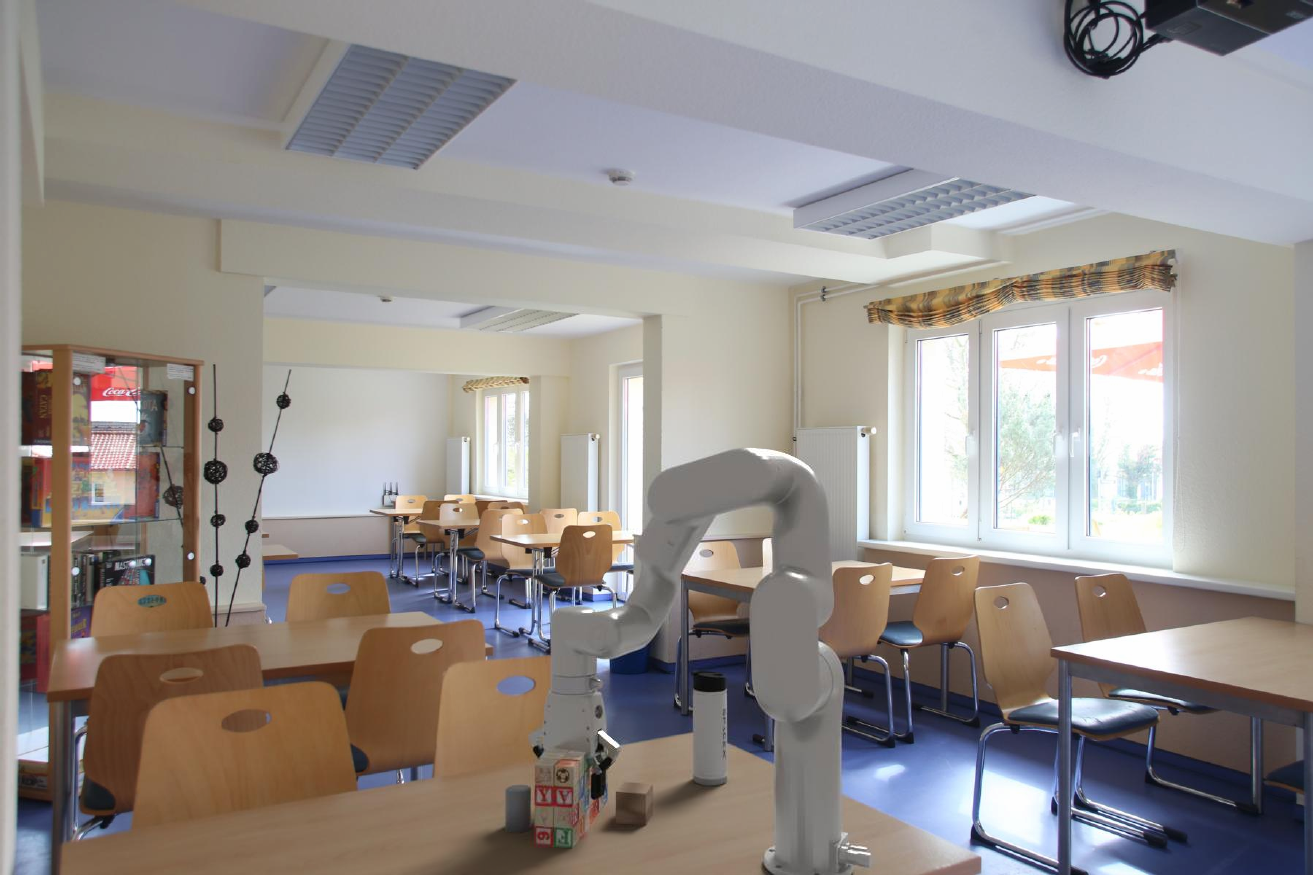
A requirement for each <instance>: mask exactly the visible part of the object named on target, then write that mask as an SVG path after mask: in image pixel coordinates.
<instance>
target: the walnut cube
mask: <svg viewBox="0 0 1313 875" xmlns="http://www.w3.org/2000/svg"><path fill="white" fill-rule="evenodd" d="M653 815H654V784H653V783H646V782H645V783H644V782H643V783H642V782H630V781H623V782H622V783H621V784H620V786H619V787H618V788H617V790H615V824H623V825H624V824H625V825H634V826H635V825H637V826H638V825H639V826H647V825H648V823H649V822H650V820H651V818H652V816H653Z"/></svg>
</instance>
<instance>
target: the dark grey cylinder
mask: <svg viewBox="0 0 1313 875" xmlns="http://www.w3.org/2000/svg"><path fill="white" fill-rule="evenodd" d="M504 800H505V807H504V809H505V815H504V816H505V818H504V830H506V831H507V832H510V833H513V834H514V833H524V832H527V831H529V830H530V829H531V827H532V818H531V817H532V787H531V786H529V785H525V784H514V785H510V786H508V787H505V799H504Z"/></svg>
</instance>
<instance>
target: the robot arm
mask: <svg viewBox="0 0 1313 875" xmlns="http://www.w3.org/2000/svg"><path fill="white" fill-rule="evenodd" d="M646 498H647V505H648V509H649V512H650V513H651V515H652V516H651V518H650V520H649V521H648V523H647V524H646V526H645V528H644V529H643V531H642V533H641V535H640V536H639V538H638V539H637V541H636V543H635V545H634V553H635V556H636V558H637V559H638V560H639V561H640V573H639V577H638V579H637V582H636V583H635V584H634V585H635V586H634V588H632V591H631V592H630V594H629V596H628V597H627V599H626V601H625V602H624V603H623V605H620V606H616V607H613V608H610V609H606V610H605V609H604V610H601V611H595V610H594V609H593V608H591V607H588V606H579V605H576V606H575V605H573V606H572V605H571V606H561V607H557V608H556V609H554V610H553V611H552V614H551V617H550V690H549V691H547V694H546V698H545V702H544V708H543V710H544V711H543V719H542V727H540V728H538V729H536V730H535V731H532V732H531V733H529V734H528V736H527V738H528V741H529V743H530V745H531V747H532V752H533V753H534V754H535V757H536V758H537V759H538V761H539V760H540V759H542V758H543V757H544V756H545V755H546V754H547V753H548V752H549V751H550V750H551V749H552V748H553V747H555V748H561V749H567V750H573V751H579V752H586V758H587V760H588V762H589V764H590V765H591V767H592V769H593V771H594V773H593V774H591V798H592V799H593V800H596V799H598V798H599V797H601V796H603V795H604V793H605V790H606V770H609V768H610V767H611V766H612V765H613V764H614V763H615V762H616V759H617V758H618V756H619V754H620V752H621V750H622V747H621V745H620V744H619V743H617V742H616V741H615V740H613V739H612V738H611V737H610V736H609V735H608V733H607V732H608V727H607V715H606V709H605V702H604V700H603V699H604V698H603V694H602V692H600V691H598V689H602V688H603V686H604V681H603V680H602V679H599V678H598V659H599V660H613V659H616V658H619V657H621V656H622V657H623V656H624V655H627V654H630V653H633V652H635V651H639V650H641V649H643V648H645V647H646V646H647V645H648V644H649V643H650V642H651V641H652V640H653V639H654V637H655V636H656V634H657V633H658V631H659V630H660V628H661V626H662V625H663V623H664V621H665V620H666V618H667V617H668V615H669V613H670V611H671V609H672V608H673V605H674V603H675V601H676V598H677V595H678V591H679V589H680V588H679V587H680V584H681V578H682V574H683V572H684V570H685V568H686V566H687V565H688V563H689V561H690V560H691V558H692V556H693V554H694V553H695V551H696V550H697V548H698V547H699V545H700V543H701V542H702V540H703V538H704V536H705V535H706V533H707V532H708V530H709V528H710V527H711V525H712V523H713V521H714V520H715V518H716V517H717V516H719V515H722V514H726V513H729V512H730V513H731V512H734V511H738V510H742V509H748V508H755V507H756V508H758V507H759V508H760V507H768V508H769V509H771V512H772V516H773V517H772V518H773V519H772V520H773V521H772V525H771V526H772V527H771V535H770V539H771V540H770V543H771V552H772V553H771V556H772V559H771V560H772V563H771V564H772V566H771V567H772V568H771V572H769V573H767V575H764V576H763V577H762V578H761V580H759V582H758V583H757V584H756V586H755V588H754V590H753V593H752V595H751V600H750V604H749V638H750V639H749V640H750V644H749V645H750V661H751V662H750V663H751V665H750V666H751V682H752V689H753V692H754V696H755V699H756V701H757V703H758V705H759V707H760V708H761V710H762V711H763V712H764V713H765V714H766V715H768V717H770V718H771V719H773V720H774V729H773V767H774V768H773V774H774V776H773V779H774V780H773V782H774V783H773V785H774V786H773V788H774V790H773V793H774V845H773V846H771V847H769V848H767V849H766V850H765V852H764V855H763V864H764V867H765V868H766V869H767V870H768V871H769V872H770V873H771V874H772V875H852V874H853V873H854V869H855V866H857V867H860V868H864V869H872V866H873V861H874V859H873V854H872V853H870V852H869V848H868V847H867V846H861V845H857V846H856V845H853V844H852V843H851V842H849V833H848V832H844V831H843V803H842V802H843V799H842V798H843V797H842V796H843V794H842V793H843V792H842V791H843V790H842V787H843V785H842V724H843V723H842V722H843V720H842V717H843V707H844V694H845V675H844V669H843V666H842V665H843V664H842V662H841V661H840V658H839V657H838V654H836V652H835V650H833V648H832V647H830V646H829V645H828V644H826V643H824V642H822V641H820V640H819V628H821V627H823V626H824V625H825V624H826V623H827V622H828V621H829V620H830V618H831V616H832V615H833V612H834V609H835V608H834V607H835V593H834V582H833V581H834V580H833V564H832V549H831V548H832V547H831V534H830V514H829V503H828V498H827V494H826V491H825V488H824V486H823V483H822V481H821V480H820V479H819V477H818V475H817V474H816V472H815V471H814V470H813V469H812V468H811V467H810V466H809V465H808V464H806V463H805V462H803V461H802V460H800V459H798V458H797V457H794V456H791V455H790V454H787V453H784V452H782V451H777V450H774V449H768V448H757V447H756V448H755V447H737V448H733V449H730V450H726V451H723V452H720V453H716V454H713V455H708V456H707V457H706V456H705V457H703V458H700V459H697V460H693V461H690V462H686V463H683V464H679V465H675V466H673V467H670V468H669V467H668V468H667V469H665V470H663V471H661V472H660V473H658V474H657V475H656V476H655V478H654V479H652V482H651V483H650V486H649V488H648V490H647V495H646ZM541 739H542V740H541ZM606 750H607V757H606V758H605V757H604V755H603V754H602V753H604V752H605V751H606ZM595 757H596V758H595ZM538 761H537V762H538Z"/></svg>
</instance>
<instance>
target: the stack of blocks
mask: <svg viewBox="0 0 1313 875" xmlns="http://www.w3.org/2000/svg"><path fill="white" fill-rule="evenodd" d="M602 754H603V755H604V757H605V758H606V757H607V754H608V750H606V751H605V752H604V753H602ZM595 758H596V757H595ZM538 760H539V759H538ZM608 770H609V769H608ZM608 770H606V790H605V793H604V795H603V796H601V797H599V798H598V799H596V800H593V799H592V798H591V774H593V773H594V771H593V769H592V767H591V765H590V764H589V762H588V760H587V758H586V752H579V751H573V750H567V749H561V748H555V747H553V748H552V749H551V750H550V751H549V752H548V753H547V754H546V755H545V756H544V757H543V758H542V759H540V760H539V761H537V762H536V763H535V764H534V795H533V796H534V799H533V800H534V804H533V805H534V825H533V827H534V828H533V831H534V832H533V834H534V835H533V836H534V837H533V838H534V839H533V845H534V846H540V847H554V848H555V847H556V848H567V849H573V848H574V847H575V846H576V845H577V843H578V842H579V841H580V840H581V838H582V837H583V836H584V834H585V833H586V832H587V830H588V829H589V828H590V826H591V823H592V822H593V821H594V819H595V817H597V815H598V813H600V811H601V810H602V809H603V807H604V806H605V804H606V803H607V801H608V792H609V789H608V784H609V783H608V780H609V779H608V778H609V776H608V774H609V773H608Z"/></svg>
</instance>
